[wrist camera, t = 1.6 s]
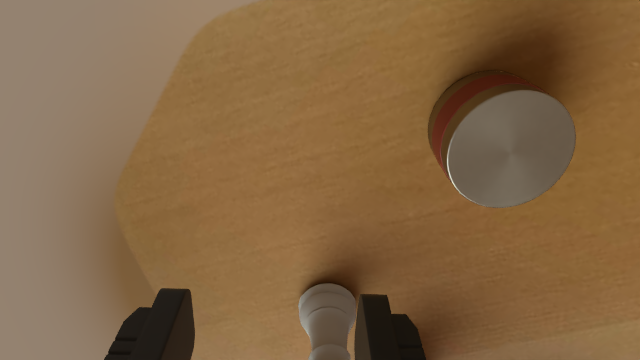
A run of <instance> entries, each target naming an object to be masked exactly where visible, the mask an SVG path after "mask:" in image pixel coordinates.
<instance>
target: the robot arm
mask: <svg viewBox="0 0 640 360" xmlns="http://www.w3.org/2000/svg"><path fill="white" fill-rule="evenodd" d="M194 340H195V328H194V318H193V308H192V299H191V292H190V290H189V289H169V288H162V289H160V291H159V292H158V294H157V297H156V299H155V301H154V303H153V305H152V308H147V307H144V308H142V307H139V308H138V309H137V310H136V311H135V312H134V313H132V314H131V315H130V316H129V317H128V318H127V319H126V320H125V321H124V322H123V324H122V326H121V328H120V330H119V332H118V334H117V336H116V338H115V341H114V342H113V343H112V345H111V347H110V349H109V351H108V355H106V357H105V359H104V360H190V359H191V356H192V352H193V348H194ZM354 345H355V360H426V357H425V353H424V350H423V348H422V343H421V339H420V336H419V332H418V329H417V328H416V326H415V325H414V324H413V323H412V321H411V320H410V319H409V318H408V316H407V315H406V314H391V310H390V305H389V301H388V297H387V295H379V294H360V296H359V303H358V311H357V320H356V329H355V344H354Z"/></svg>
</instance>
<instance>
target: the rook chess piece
mask: <svg viewBox="0 0 640 360" xmlns="http://www.w3.org/2000/svg"><path fill="white" fill-rule="evenodd" d="M298 306H299V317H300V322H301V325H302V326H303V328H304V329H305V331H306V332H307V334H308V335H309V336H310V340H311V346H312V352H311V353H310V356H309V360H351V358H350V354H349V352H348V351H347V337H348V334H349V332H350V330H351V328H352V326H353V324H354V322H355V319H356V302H355V298H354V297H353V295H352V294H351V292H350V291H348V290H347V289H345V288H343V287H342V286H340V285H337V284H332V283H323V284H318V285H316V286H314V287H311V288H310V289H308V290H307V291H306V292H305V293H304V294H303V295H302V296H301V298H300V301H299V304H298Z"/></svg>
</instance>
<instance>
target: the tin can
mask: <svg viewBox="0 0 640 360" xmlns="http://www.w3.org/2000/svg"><path fill="white" fill-rule="evenodd" d="M428 139H429V143H430V147H431V149H432V151H433V153H434V155H435V157H436V159H437V161H438V163H439V165H440V166H441V168H442V169H443V171H444V173H445V174H446V176H447V177H448V179H449V180H450V181H451V182H452V184H453V185H454V187H455V188H456V190H457V191H458V192H459V193H460V194H461V195H462V196H464V197H465V198H466V199H468V200H470V201H471V202H474V203H476V204H478V205H482V206H486V207H493V208H504V207H512V206H517V205H520V204H523V203H526V202H528V201H531V200H533V199H535V198H536V197H538V196H540V195H541V194H543V193H544V192H546V191H547V190H548V189H549V188H551V187H552V186H553V185H554V184H555V183H556V182H557V181H558V180H559V179H560V177H561V176H562V175H563V173H564V172H565V170H566V169H567V167H568V165H569V163H570V161H571V159H572V156H573V152H574V148H575V140H576V134H575V127H574V123H573V120H572V118H571V116H570V114H569V112H568V111H567V109H566V108H565V107H564V106H563V105H562V104H561V103H560V102H559V101H558V100H557V99H555V98H554V97H552V96H550V95H549V94H548V93H546V92H545V91H543V90H542V89H540V88H538V87H537V86H535V85H533V84H531V83H530V82H528V81H526V80H524V79H522V78H519V77H517V76H515V75H513V74H510V73H507V72H503V71H482V72H478V73H474V74H471V75H469V76H466V77H464V78H462V79H461V80H459V81H457V82H456V83H454V84H453V85H452V86H451V87H450V88H448V89H447V90H446V91H445V92H444V93H443V95H442V96H441V97H440V98H439V100H438V101H437V103H436V105H435V106H434V108H433V111H432V113H431V116H430V120H429V125H428Z"/></svg>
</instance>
